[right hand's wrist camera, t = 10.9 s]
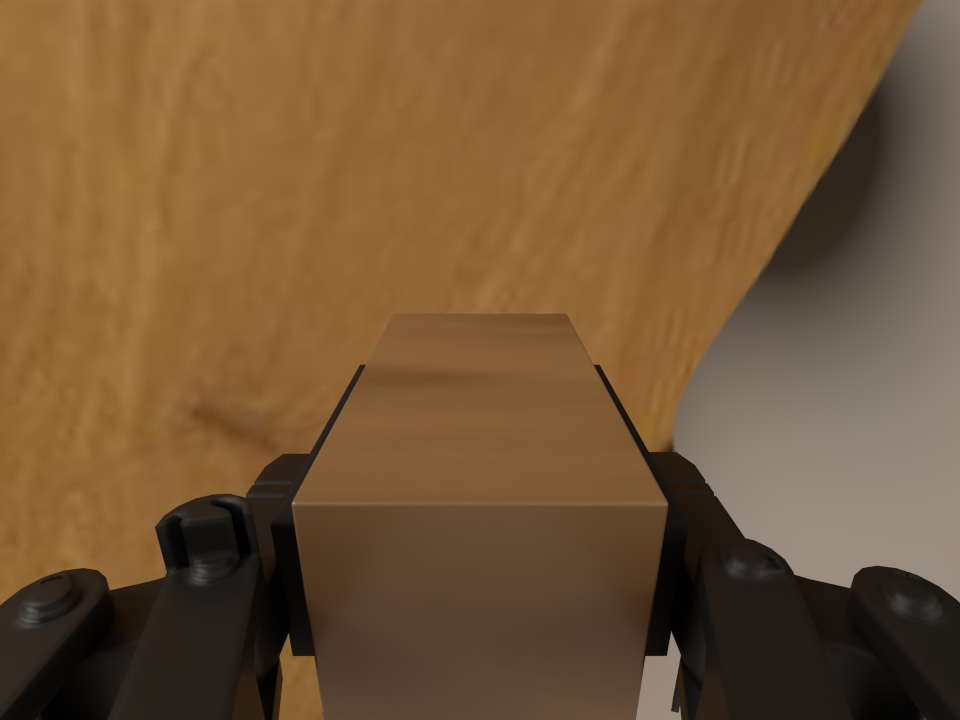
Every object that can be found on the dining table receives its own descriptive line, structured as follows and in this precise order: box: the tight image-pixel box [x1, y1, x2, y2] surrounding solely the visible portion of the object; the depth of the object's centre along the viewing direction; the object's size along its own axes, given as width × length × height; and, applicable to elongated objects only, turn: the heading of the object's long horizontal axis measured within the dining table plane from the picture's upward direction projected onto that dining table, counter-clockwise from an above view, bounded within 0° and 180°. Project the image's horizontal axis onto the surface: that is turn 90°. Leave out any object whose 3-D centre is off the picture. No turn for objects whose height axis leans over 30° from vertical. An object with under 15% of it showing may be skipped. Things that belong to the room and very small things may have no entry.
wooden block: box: [291, 314, 668, 720], centre depth 12 cm, size 5×5×9 cm
